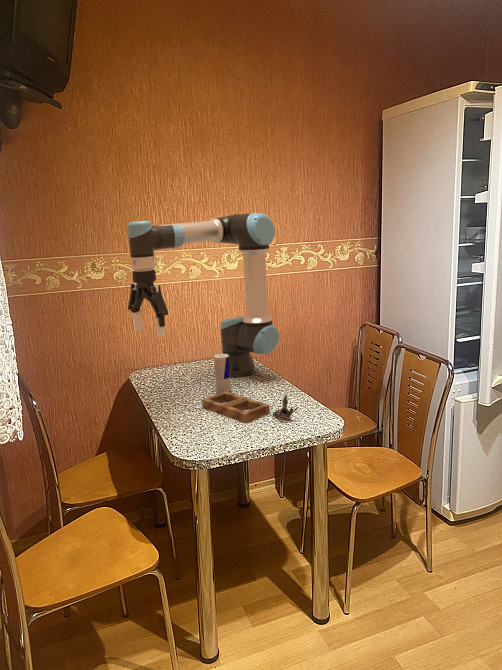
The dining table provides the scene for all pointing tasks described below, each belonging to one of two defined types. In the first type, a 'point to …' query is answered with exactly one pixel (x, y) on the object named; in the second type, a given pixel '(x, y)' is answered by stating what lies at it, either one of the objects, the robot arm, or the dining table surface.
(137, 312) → the robot arm
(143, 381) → the dining table surface
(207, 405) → the walnut holder board
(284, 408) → the eagle figurine
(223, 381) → the beverage can
